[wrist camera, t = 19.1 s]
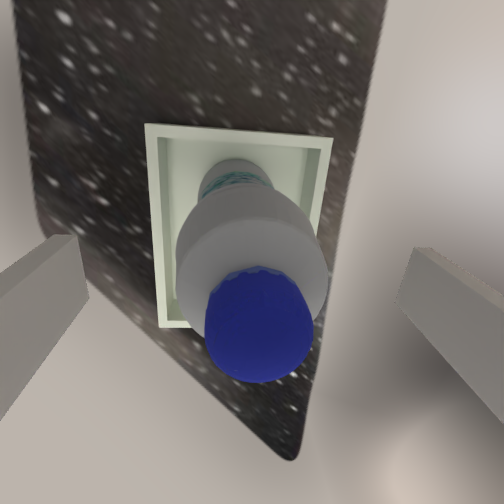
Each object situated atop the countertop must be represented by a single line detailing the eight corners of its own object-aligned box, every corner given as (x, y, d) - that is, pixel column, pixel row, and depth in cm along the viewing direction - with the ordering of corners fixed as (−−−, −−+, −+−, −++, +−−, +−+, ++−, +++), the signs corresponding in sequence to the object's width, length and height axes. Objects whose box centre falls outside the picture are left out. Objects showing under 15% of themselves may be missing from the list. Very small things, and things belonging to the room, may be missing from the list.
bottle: (187, 211, 26) (111, 413, 8) (214, 139, 24) (190, 201, 6) (253, 237, 28) (311, 452, 10) (285, 172, 26) (434, 298, 8)
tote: (156, 122, 24) (144, 123, 20) (317, 135, 25) (333, 138, 22) (166, 302, 31) (159, 327, 27) (291, 304, 32) (299, 327, 29)
